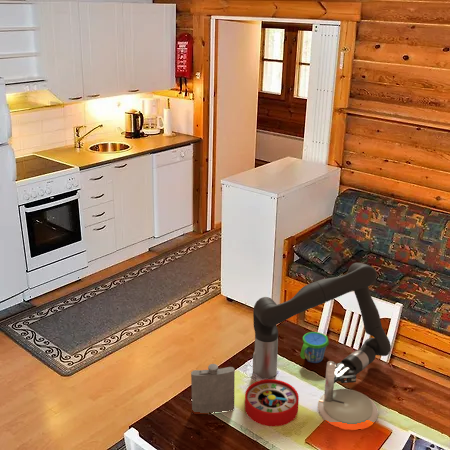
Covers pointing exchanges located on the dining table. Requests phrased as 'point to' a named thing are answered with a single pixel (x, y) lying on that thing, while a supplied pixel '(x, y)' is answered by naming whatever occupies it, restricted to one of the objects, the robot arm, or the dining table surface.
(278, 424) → the toy clock
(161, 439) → the dining table surface
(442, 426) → the dining table surface
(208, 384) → the hip flask
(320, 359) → the snack cup
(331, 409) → the beige disc with handle
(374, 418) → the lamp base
